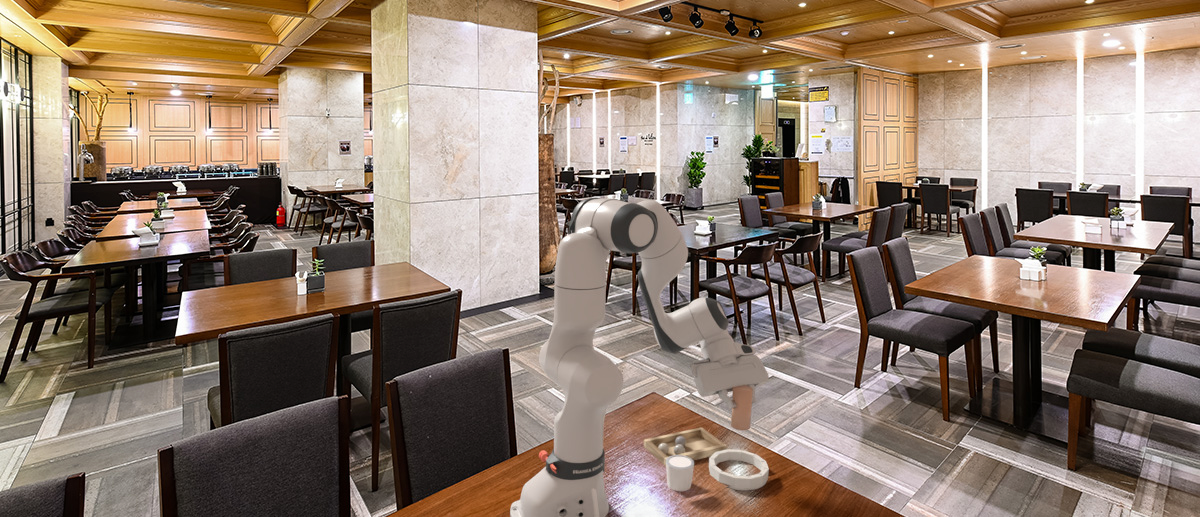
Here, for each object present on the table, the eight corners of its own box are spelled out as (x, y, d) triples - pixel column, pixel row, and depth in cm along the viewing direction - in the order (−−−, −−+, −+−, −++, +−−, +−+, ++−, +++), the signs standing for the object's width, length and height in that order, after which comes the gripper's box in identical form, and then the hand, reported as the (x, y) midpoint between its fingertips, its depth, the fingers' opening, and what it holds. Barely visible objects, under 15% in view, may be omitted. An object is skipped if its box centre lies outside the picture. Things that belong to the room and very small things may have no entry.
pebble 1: (661, 457, 163) (661, 447, 162) (655, 452, 165) (656, 442, 165) (671, 455, 164) (671, 445, 163) (665, 450, 167) (665, 440, 166)
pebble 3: (678, 443, 163) (687, 450, 162) (677, 441, 166) (687, 448, 165) (671, 452, 163) (680, 459, 162) (671, 450, 166) (680, 457, 165)
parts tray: (666, 469, 158) (666, 459, 158) (643, 449, 169) (643, 439, 168) (726, 455, 166) (726, 445, 166) (701, 436, 177) (701, 427, 176)
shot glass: (692, 497, 146) (693, 470, 145) (663, 493, 147) (664, 466, 146) (693, 482, 153) (694, 456, 151) (666, 478, 154) (667, 453, 153)
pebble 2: (686, 446, 169) (676, 448, 170) (684, 435, 170) (674, 437, 170) (687, 446, 167) (676, 448, 167) (685, 435, 168) (674, 437, 168)
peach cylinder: (738, 431, 151) (740, 393, 149) (727, 423, 155) (728, 386, 153) (754, 428, 153) (756, 390, 151) (742, 420, 157) (744, 383, 155)
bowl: (732, 495, 147) (732, 483, 146) (698, 467, 160) (698, 456, 159) (779, 482, 153) (780, 470, 152) (742, 456, 166) (743, 445, 165)
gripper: (693, 356, 153) (714, 408, 146) (758, 345, 161) (781, 394, 154) (682, 367, 157) (702, 418, 150) (747, 356, 166) (768, 404, 159)
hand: (743, 406), depth 152 cm, fingers closed on peach cylinder, 5 cm apart
